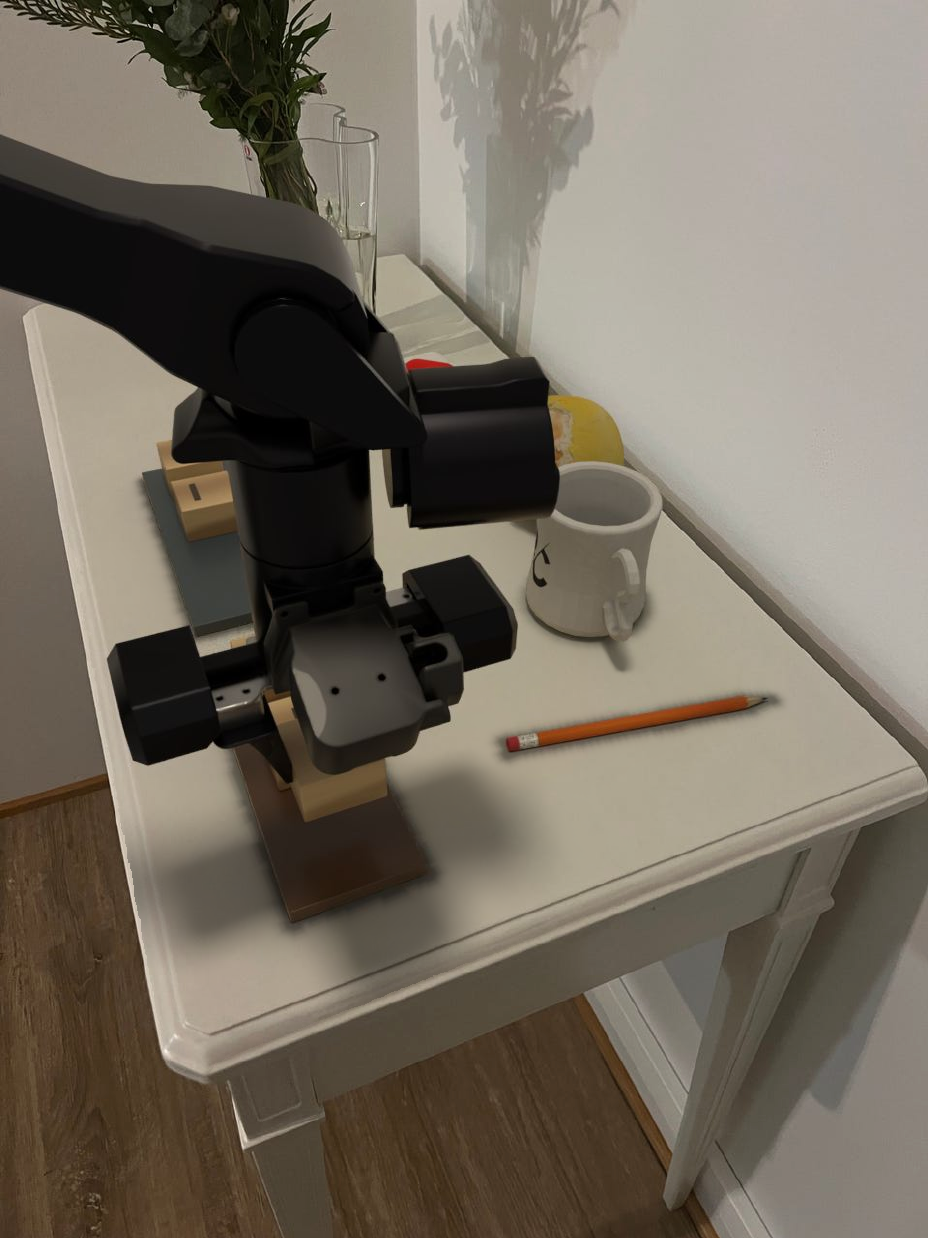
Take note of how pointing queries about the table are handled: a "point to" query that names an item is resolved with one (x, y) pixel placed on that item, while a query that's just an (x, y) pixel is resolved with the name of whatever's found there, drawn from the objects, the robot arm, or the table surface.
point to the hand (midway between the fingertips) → (331, 763)
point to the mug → (594, 551)
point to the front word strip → (325, 835)
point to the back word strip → (201, 539)
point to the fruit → (583, 432)
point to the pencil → (630, 722)
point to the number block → (328, 779)
